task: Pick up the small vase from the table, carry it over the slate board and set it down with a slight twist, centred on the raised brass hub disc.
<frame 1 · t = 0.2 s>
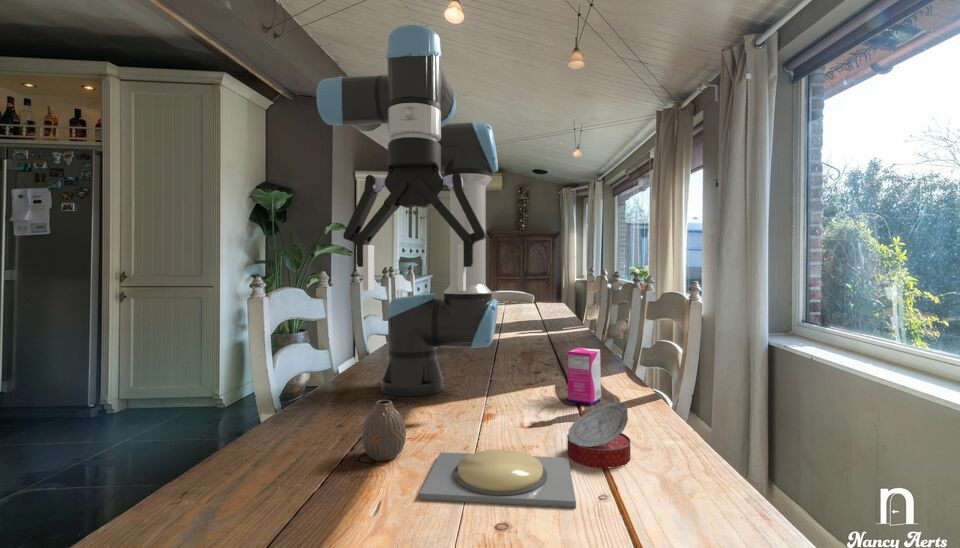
hand: (414, 290, 70), 27 cm above the table, fingers open, 13 cm apart
canned food: (598, 458, 78), on the table
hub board: (500, 479, 69), on the table
vase: (384, 457, 78), on the table
supplement box: (584, 401, 110), on the table
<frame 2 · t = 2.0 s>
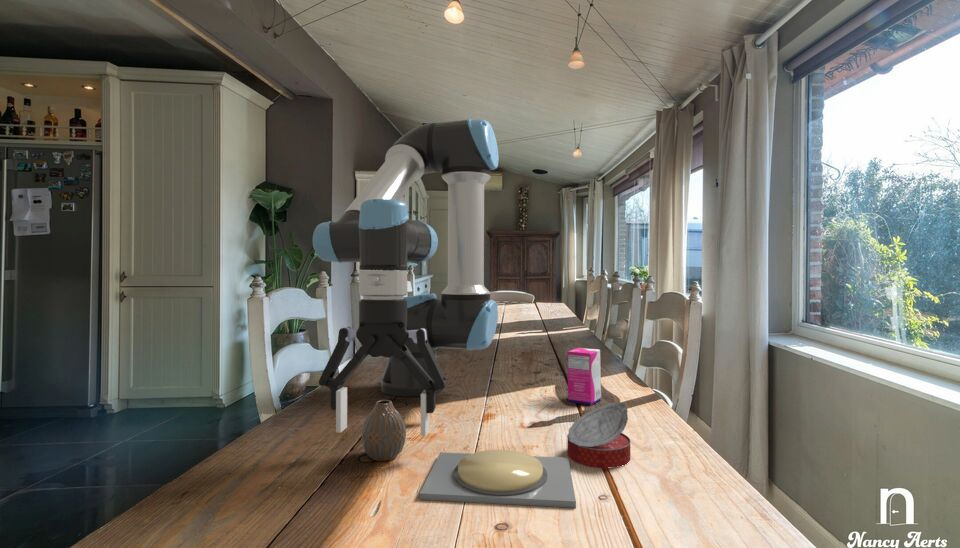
hand: (382, 431, 77), 4 cm above the table, fingers open, 13 cm apart
nothing on the table moved.
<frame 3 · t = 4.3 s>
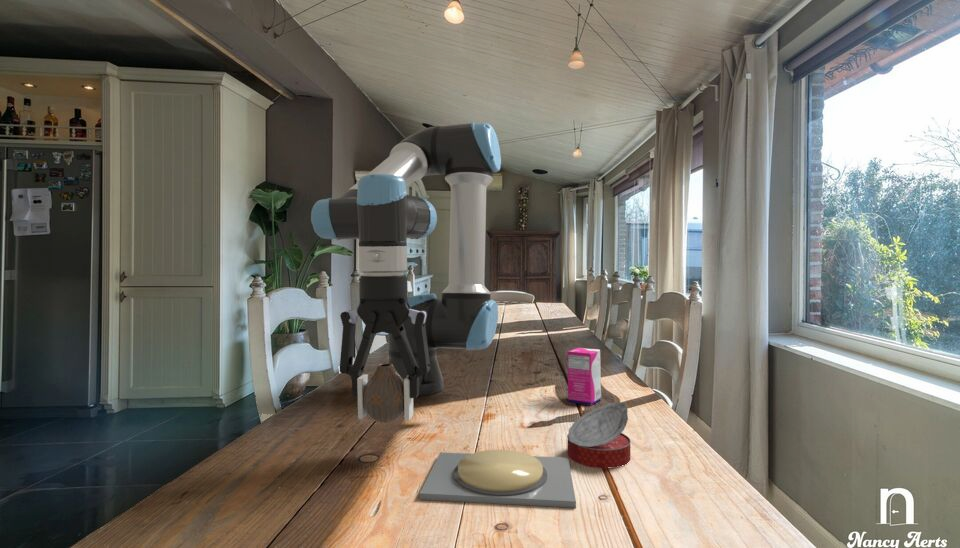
hand: (386, 416, 78), 6 cm above the table, fingers closed on vase, 7 cm apart
vase: (386, 419, 79), point 6 cm above the table, touching gripper
everything else where it was.
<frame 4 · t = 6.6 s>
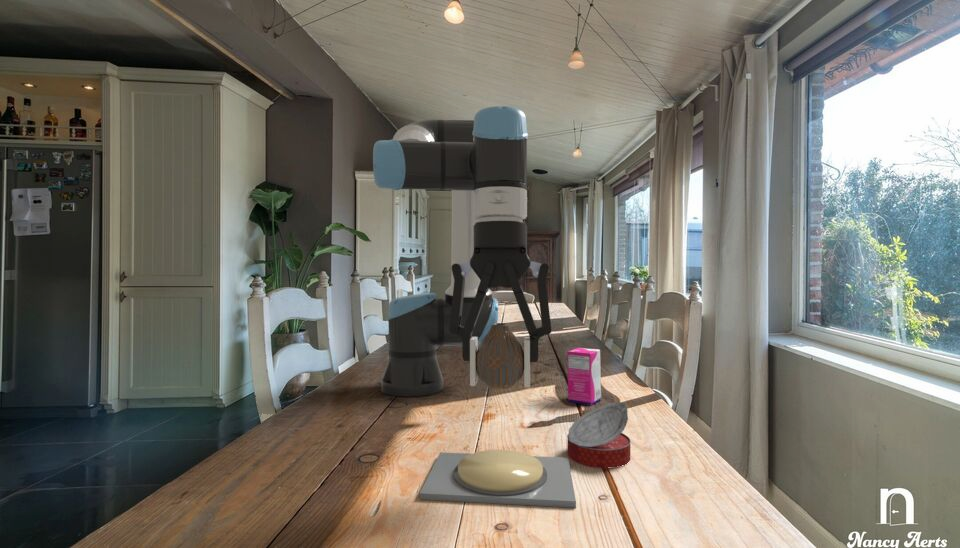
hand: (500, 384, 69), 14 cm above the table, fingers closed on vase, 7 cm apart
vase: (500, 387, 69), point 13 cm above the table, touching gripper
everything else where it was.
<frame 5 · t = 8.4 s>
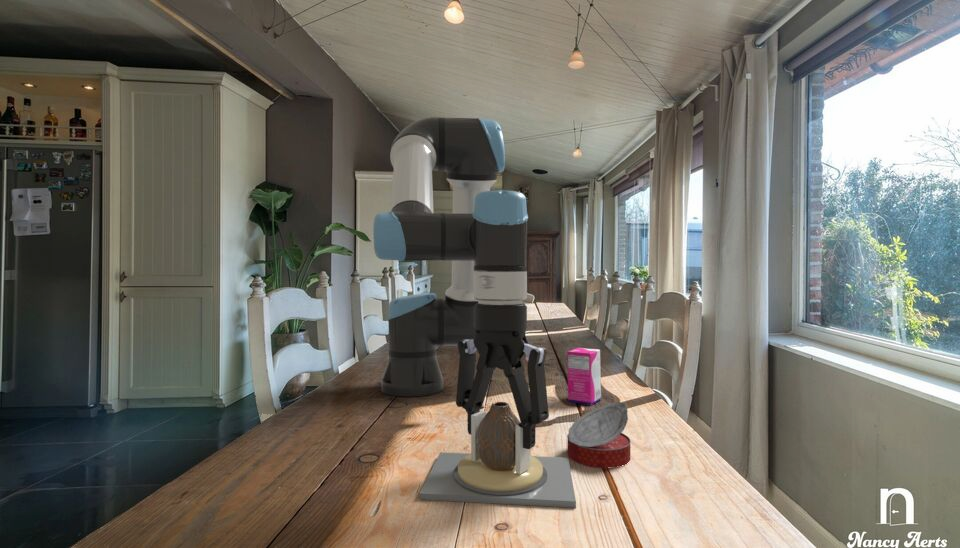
hand: (500, 463, 69), 2 cm above the table, fingers closed on vase, 7 cm apart
vase: (500, 466, 69), point 2 cm above the table, touching gripper, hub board
everything else where it was.
when the fingers open (2 cm above the table, at t = 9.2 s): vase stays where it is, resting on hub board.
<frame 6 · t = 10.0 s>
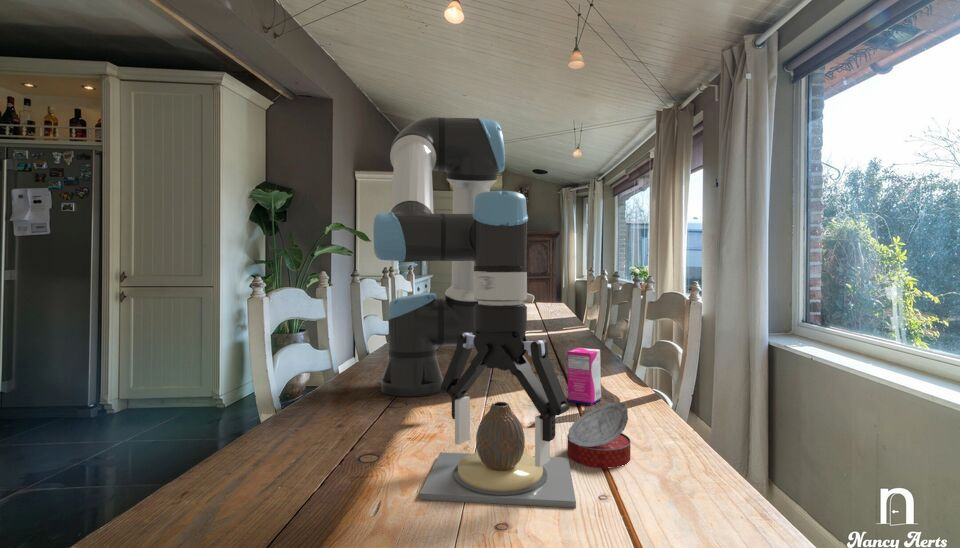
hand: (500, 452, 69), 4 cm above the table, fingers open, 13 cm apart
vase: (500, 466, 69), point 2 cm above the table, touching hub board
everything else where it was.
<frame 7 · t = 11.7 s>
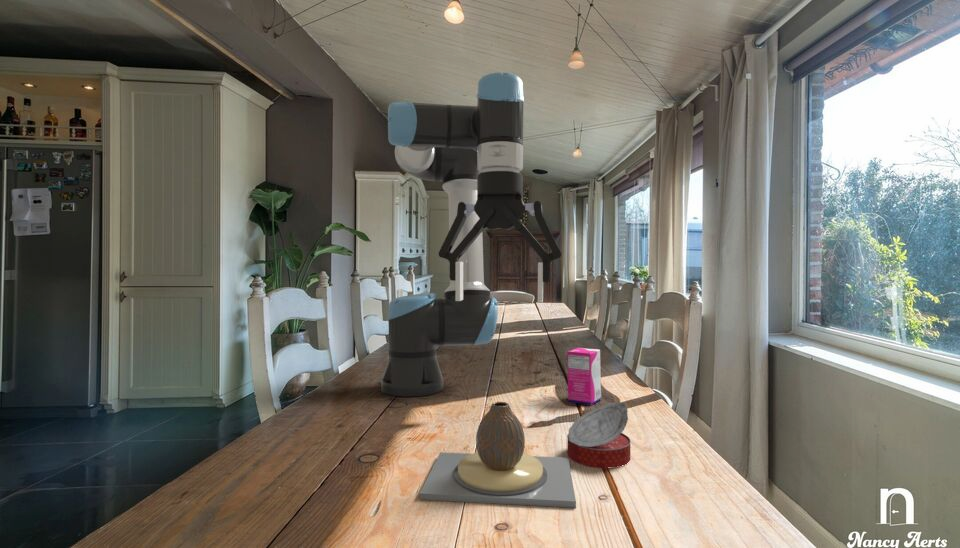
hand: (499, 301, 81), 24 cm above the table, fingers open, 13 cm apart
nothing on the table moved.
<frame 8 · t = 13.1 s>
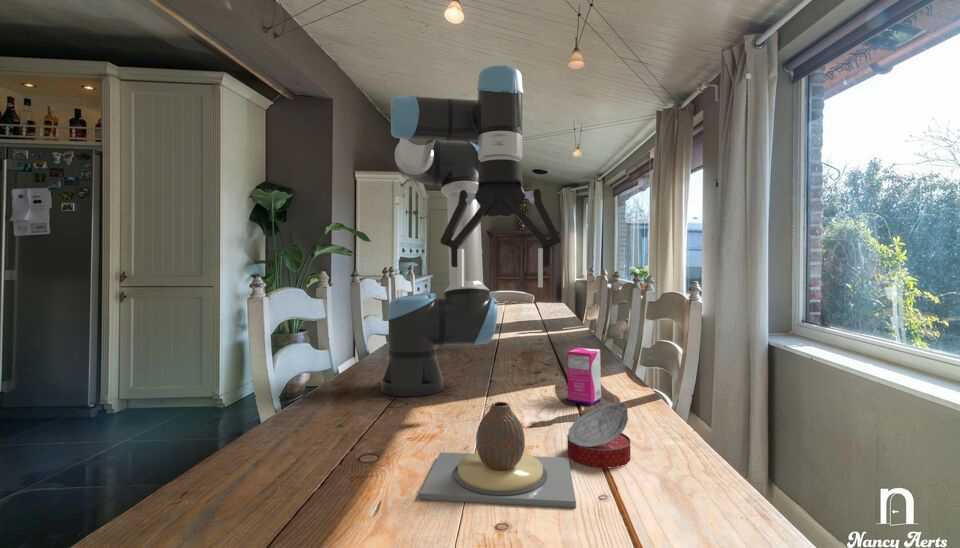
hand: (500, 287, 83), 27 cm above the table, fingers open, 13 cm apart
nothing on the table moved.
at the end: vase 0.1 cm from the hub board (horizontally); vase point 1.8 cm above the table; vase tilted 0° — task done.
